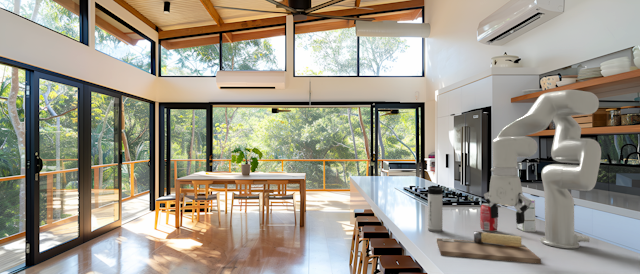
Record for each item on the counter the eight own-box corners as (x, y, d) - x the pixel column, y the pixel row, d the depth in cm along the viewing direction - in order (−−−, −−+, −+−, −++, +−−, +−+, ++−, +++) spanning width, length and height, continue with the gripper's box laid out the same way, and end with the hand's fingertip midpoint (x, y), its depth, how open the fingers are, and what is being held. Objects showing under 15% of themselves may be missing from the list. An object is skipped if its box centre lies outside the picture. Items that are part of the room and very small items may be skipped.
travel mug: (440, 228, 155) (440, 185, 156) (444, 232, 149) (444, 187, 149) (426, 228, 156) (426, 185, 156) (429, 232, 149) (429, 187, 150)
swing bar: (473, 242, 127) (473, 232, 127) (474, 240, 130) (474, 230, 130) (521, 248, 120) (521, 238, 120) (521, 246, 122) (520, 236, 122)
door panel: (523, 248, 126) (523, 243, 126) (540, 263, 109) (540, 258, 110) (436, 241, 134) (436, 237, 134) (440, 255, 117) (440, 249, 117)
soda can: (496, 229, 155) (496, 203, 156) (498, 233, 149) (498, 206, 149) (479, 228, 158) (479, 202, 158) (481, 231, 151) (481, 205, 151)
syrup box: (536, 231, 152) (535, 199, 152) (523, 231, 152) (522, 199, 152) (528, 228, 157) (528, 197, 158) (515, 228, 158) (515, 197, 158)
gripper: (477, 171, 125) (478, 217, 125) (522, 175, 109) (524, 227, 109) (490, 169, 128) (492, 214, 128) (536, 173, 112) (538, 224, 112)
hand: (507, 220), depth 118 cm, fingers open, 9 cm apart
